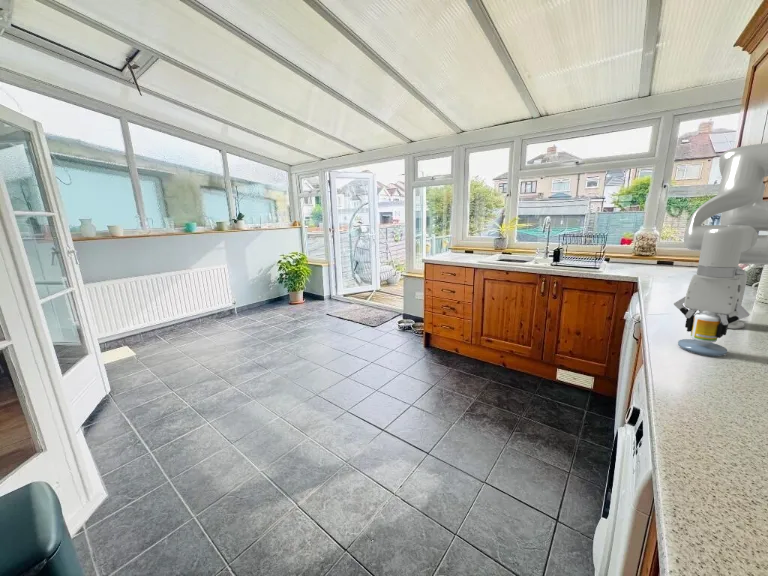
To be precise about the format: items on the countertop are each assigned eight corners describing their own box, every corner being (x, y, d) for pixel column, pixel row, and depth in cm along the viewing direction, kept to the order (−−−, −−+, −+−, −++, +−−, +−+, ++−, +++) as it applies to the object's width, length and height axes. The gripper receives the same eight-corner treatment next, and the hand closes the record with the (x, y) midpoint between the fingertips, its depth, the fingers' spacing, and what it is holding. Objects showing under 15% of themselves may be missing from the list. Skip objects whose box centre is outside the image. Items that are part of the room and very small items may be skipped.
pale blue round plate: (684, 341, 97) (684, 336, 96) (730, 351, 88) (731, 346, 88) (672, 348, 92) (673, 344, 91) (720, 360, 83) (721, 355, 83)
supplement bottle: (722, 343, 86) (729, 310, 84) (699, 342, 87) (705, 310, 85) (706, 336, 91) (712, 305, 89) (685, 335, 92) (691, 304, 90)
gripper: (767, 274, 80) (752, 339, 84) (680, 267, 94) (670, 323, 98) (761, 278, 76) (745, 346, 80) (670, 270, 90) (661, 328, 94)
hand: (704, 333), depth 89 cm, fingers closed on supplement bottle, 5 cm apart
